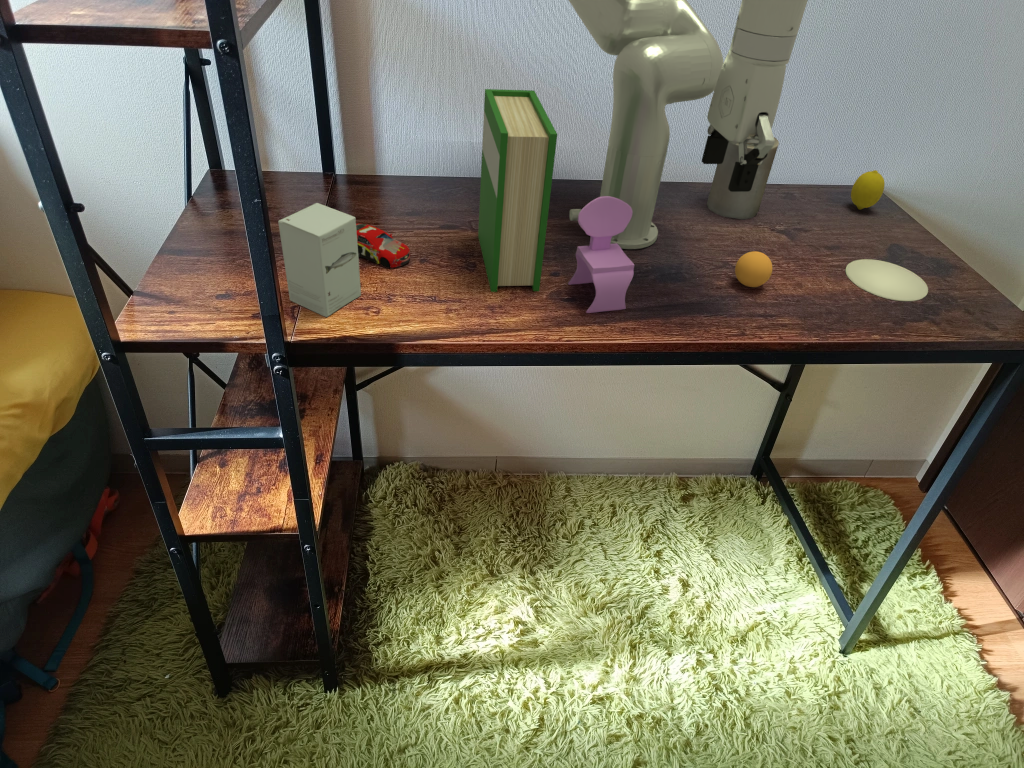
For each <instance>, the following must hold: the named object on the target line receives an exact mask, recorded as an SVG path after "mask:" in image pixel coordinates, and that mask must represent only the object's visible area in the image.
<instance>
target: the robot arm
mask: <svg viewBox="0 0 1024 768" xmlns="http://www.w3.org/2000/svg"><path fill="white" fill-rule="evenodd" d="M568 2H569V3H570V4H571V6H572V7H573V9H574V11H575V12H576V15H578V17H579V19H580V20H581V21H582V23H583V24H584V26H585V28H586V29H587V31H588V32H589V34H590V35H591V37H592V38H593V40H594V42H596V44H597V46H598V47H599V48H600V49H601V50H602V51H603V52H604V53H606V54H608V55H610V56H616V58H615V61H614V64H613V72H612V84H613V85H612V86H613V87H612V88H613V89H612V90H613V92H612V93H613V101H612V102H613V105H612V114H611V115H612V117H611V124H610V130H609V137H608V145H607V149H606V151H607V152H606V158H605V162H604V169H603V176H602V181H601V182H602V183H601V187H600V194H599V197H602V196H610V197H614V198H617V199H620V200H622V201H624V202H625V203H627V204H628V205H629V206H630V207H631V209H632V217H631V220H630V222H629V223H628V225H627V226H626V228H625V229H624V231H623V232H621V233H619V234H617V235H614V236H612V238H611V242H610V244H614V243H617V244H618V245H619V246H620V247H621V249H622V250H639V249H645V248H647V247H649V246H652V245H653V244H654V243H656V241H657V238H658V235H659V229H658V227H657V226H656V224H655V223H654V222H653V217H654V211H655V208H656V202H657V199H658V194H659V190H660V185H661V179H662V175H663V172H664V167H665V162H666V158H667V153H668V148H669V147H668V146H669V143H670V137H671V136H670V135H671V131H670V124H669V121H668V117H667V115H666V106H667V105H671V104H676V103H681V102H684V103H685V102H690V101H691V102H692V101H695V100H700V99H703V98H705V97H708V96H709V95H711V94H712V98H711V99H710V100H711V101H710V104H709V108H708V112H707V116H706V117H707V121H708V122H709V123H708V124H709V126H708V127H707V138H706V141H705V146H704V149H703V153H702V157H701V163H702V164H704V165H717V164H722V163H723V161H724V157H725V153H726V150H727V146H728V143H729V142H730V143H732V144H738V143H739V162H735V166H734V169H733V173H732V176H731V180H730V183H729V187H728V189H729V190H730V191H731V192H748V191H750V190H751V188H752V185H753V182H754V179H755V176H756V172H757V169H758V166H759V165H761V164H762V161H763V159H765V158H766V157H767V155H768V152H769V151H770V150H771V148H772V147H773V146H774V143H775V140H774V134H773V131H772V128H773V125H774V123H775V119H776V115H777V111H778V107H779V104H780V99H781V96H782V95H781V94H782V91H783V86H784V81H785V76H786V75H785V74H786V68H787V65H788V64H789V62H790V59H791V56H792V53H793V49H794V46H795V42H796V39H797V38H798V37H797V36H798V34H799V30H800V26H801V23H802V20H803V16H804V14H805V10H806V7H807V4H808V0H741V3H740V7H739V11H738V15H737V19H736V22H735V27H734V31H733V36H732V37H731V38H732V39H731V43H730V46H729V47H730V48H729V50H728V52H727V54H726V57H725V59H724V57H723V53H722V50H721V48H720V45H719V44H718V41H717V40H716V39H715V37H714V35H713V34H712V32H711V31H710V30H709V29H708V27H707V25H705V22H703V20H702V19H701V18H700V16H699V15H698V14H697V12H696V11H695V9H694V8H693V7H692V5H691V4H690V3H689V2H688V0H568ZM748 136H749V137H751V138H752V139H747V137H748ZM747 146H754V149H753V150H751V151H750V152H749V153H748V154H747ZM581 210H582V209H581V208H573V209H571V208H570V210H569V220H570V221H572V222H573V221H577V222H578V215H579V213H580V211H581Z"/></svg>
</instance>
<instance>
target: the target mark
mask: <svg viewBox="0 0 1024 768" xmlns="http://www.w3.org/2000/svg"><path fill="white" fill-rule="evenodd" d="M845 274H846V276H847V278H848V280H850V282H852V284H854V285H855V286H856V287H858V288H860V290H861V289H862V290H863V291H865V292H867V293H868V294H872V295H874V296H877V297H880V298H883V299H886V300H891V301H898V302H916V301H919V300H922V299H924V298H925V297H926V296H927V295H928V293H929V288H928V285H927V283H926V282H925V281H924V279H922V277H920V276H919V275H917V274H916V273H914V272H913V271H911V270H909V269H907V268H905V267H902V266H900V265H899V264H895V263H892V262H889V261H884V260H878V259H871V258H870V259H869V258H868V259H867V258H864V259H862V258H861V259H856V260H853V261H850V262H849V263H848V264H847V265H846V268H845Z"/></svg>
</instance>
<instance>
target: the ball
mask: <svg viewBox="0 0 1024 768" xmlns="http://www.w3.org/2000/svg"><path fill="white" fill-rule="evenodd" d="M734 274H735V277H736V279H737V281H738V282H739V283H741V284H742V285H744V286H745V287H748V288H758V287H760V286H761V287H762V286H763V285H765V284H766V283H767V282H768V281H769V280H770V278H771V277H772V274H773V263H772V261H771V259H770V258H769V256H768V255H766V254H765V253H763V252H761V251H749V252H746V253H744V254H743V255H741V256H740V258H739V259H738V260H737V262H736V264H735V268H734Z"/></svg>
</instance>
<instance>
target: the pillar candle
mask: <svg viewBox="0 0 1024 768" xmlns="http://www.w3.org/2000/svg"><path fill="white" fill-rule="evenodd" d="M773 137H774V136H773ZM747 139H752V138H751V137H749V136H748V137H747ZM774 140H775V143H774V146H773V147H772V148H771V150H770V151H769V152H768V155H767V157H766V158H765V159H763V161H762V164H761V165H759V166H758V169H757V172H756V176H755V179H754V182H753V185H752V188H751V190H750V191H748V192H731V191H730V190H729V189H728V187H729V183H730V180H731V176H732V173H733V169H734V166H735V162H739V143H738V144H732V143H730V142H729V143H728V146H727V150H726V153H725V157H724V161H723V163H722V164H716V167H715V170H714V175H713V179H712V182H711V186H710V190H709V194H708V198H707V202H706V206H707V208H708V209H709V210H710V211H711V212H713V213H714V214H716V215H718V216H721V217H724V218H732V219H735V220H749V219H752V218H754V217H756V216H757V214H758V212H759V210H760V207H761V203H762V201H763V196H764V194H765V190H766V187H767V184H768V180H769V178H770V173H771V171H772V167H773V164H774V161H775V157H776V153H777V151H778V148H779V145H780V142H779V139H777V138H776V137H774ZM753 149H754V146H747V154H748V153H749V152H750V151H751V150H753Z"/></svg>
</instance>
